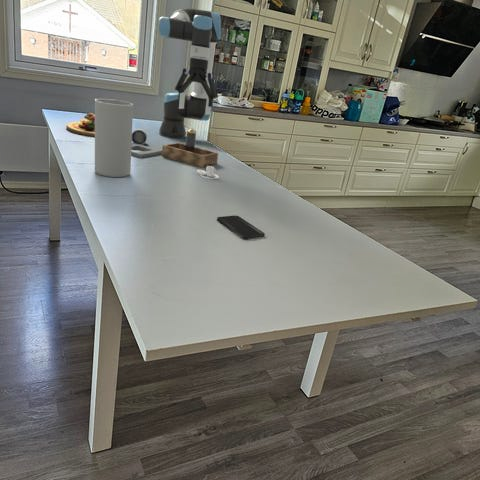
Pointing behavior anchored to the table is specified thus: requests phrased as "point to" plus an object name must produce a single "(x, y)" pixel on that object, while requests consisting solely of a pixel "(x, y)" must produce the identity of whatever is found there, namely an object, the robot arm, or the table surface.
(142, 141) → the ceramic mug
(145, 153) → the grey flat square frame
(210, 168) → the teacup and saucer
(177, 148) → the walnut trough
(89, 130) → the wooden plate with food
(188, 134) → the battery cell
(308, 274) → the table surface
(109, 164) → the cylinder vase
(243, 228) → the phone
